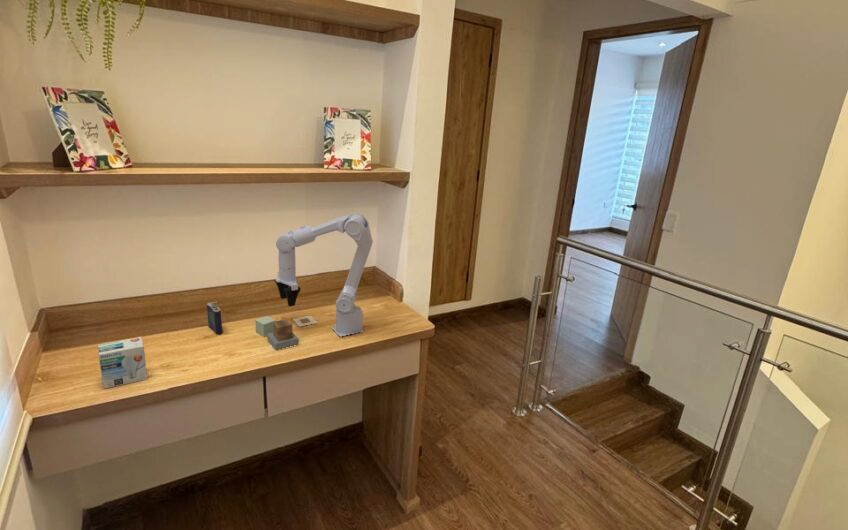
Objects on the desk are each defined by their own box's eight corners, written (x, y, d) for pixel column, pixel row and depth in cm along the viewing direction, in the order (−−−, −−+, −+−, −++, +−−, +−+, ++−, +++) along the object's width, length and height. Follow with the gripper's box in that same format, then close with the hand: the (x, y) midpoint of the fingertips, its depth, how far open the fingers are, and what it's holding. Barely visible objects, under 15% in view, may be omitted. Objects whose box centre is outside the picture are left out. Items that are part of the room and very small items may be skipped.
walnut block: (287, 331, 158) (287, 318, 157) (292, 337, 154) (292, 324, 153) (273, 334, 155) (273, 321, 154) (278, 341, 152) (277, 327, 150)
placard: (309, 316, 177) (309, 315, 177) (317, 323, 172) (317, 322, 172) (292, 319, 173) (292, 318, 173) (299, 327, 168) (299, 325, 168)
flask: (207, 325, 163) (205, 298, 160) (215, 323, 165) (213, 296, 162) (216, 335, 157) (214, 307, 153) (225, 333, 159) (223, 305, 155)
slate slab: (289, 336, 161) (289, 329, 160) (298, 346, 155) (298, 338, 154) (267, 341, 157) (267, 333, 156) (275, 351, 151) (275, 343, 150)
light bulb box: (103, 389, 124) (97, 355, 120) (102, 377, 129) (96, 344, 125) (148, 379, 130) (144, 346, 127) (145, 368, 135) (141, 336, 132)
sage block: (268, 328, 165) (267, 315, 164) (276, 332, 162) (275, 320, 161) (255, 332, 161) (255, 319, 160) (263, 337, 159) (263, 324, 157)
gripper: (269, 262, 163) (270, 296, 168) (283, 274, 152) (284, 311, 157) (288, 259, 167) (288, 293, 172) (303, 271, 157) (303, 307, 161)
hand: (287, 301), depth 164 cm, fingers open, 7 cm apart
